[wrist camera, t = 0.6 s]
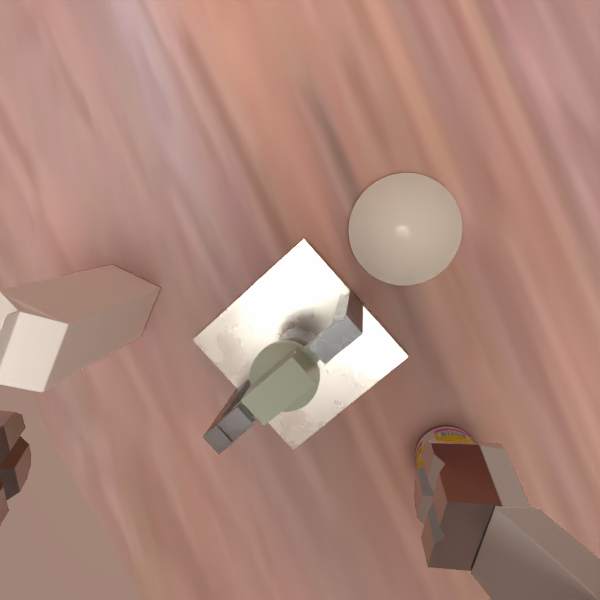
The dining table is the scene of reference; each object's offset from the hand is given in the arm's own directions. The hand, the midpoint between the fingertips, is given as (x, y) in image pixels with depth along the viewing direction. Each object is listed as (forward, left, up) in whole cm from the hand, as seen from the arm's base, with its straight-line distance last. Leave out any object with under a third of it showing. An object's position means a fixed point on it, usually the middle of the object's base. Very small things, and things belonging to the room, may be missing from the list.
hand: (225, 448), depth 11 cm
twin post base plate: (-4, +9, -46) cm, 47 cm away
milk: (+12, +20, -46) cm, 52 cm away
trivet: (-2, -7, -46) cm, 46 cm away
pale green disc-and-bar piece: (-4, +9, -36) cm, 37 cm away
